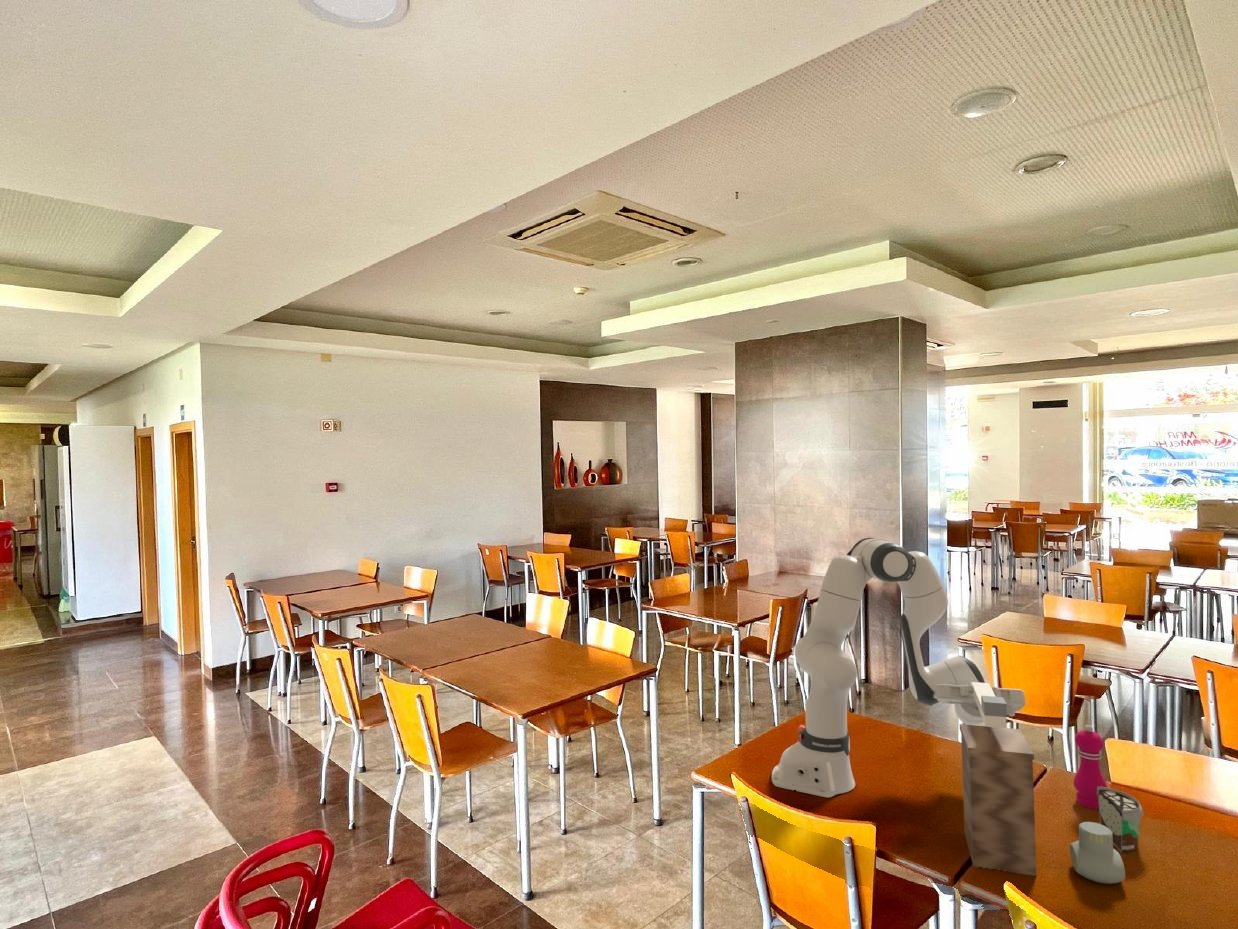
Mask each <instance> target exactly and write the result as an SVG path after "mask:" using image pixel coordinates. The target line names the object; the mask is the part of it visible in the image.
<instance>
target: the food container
mask: <svg viewBox="0 0 1238 929" xmlns="http://www.w3.org/2000/svg"><path fill="white" fill-rule="evenodd" d="M1097 794H1098V800H1099V809H1098V810H1099V811H1098V812H1099V820H1100V821H1099V824H1101V825H1104V826H1106V827H1107V828H1109V829H1110V830H1111V832H1112V835H1113V846H1115V847H1116V848H1117V850H1118V851H1120V853H1122V854H1129V853H1134V852H1136V851H1137V850H1138V848H1139V837H1140V836H1139V832H1140V821H1141V819H1142V818H1143V817H1144V810H1143V807H1142V805H1141V804H1140V802H1139V800H1138V799H1137V798H1135V797H1134V796H1133V795H1131V794H1129V793H1126V792H1124V791H1121V790H1119V789H1114V788H1111V787H1108V788H1106V787H1098V789H1097Z"/></svg>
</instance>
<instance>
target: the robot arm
mask: <svg viewBox="0 0 1238 929" xmlns="http://www.w3.org/2000/svg"><path fill="white" fill-rule="evenodd" d="M871 579H875V580H879V581H882V582H886V583H897V585H898V586H899V589H900V592H901V595H902V598H903V601H904V608H903V613H902V614H901V615H900V616H899V631H900V637H901V642H902V647H903V651H904V657H905V664H906V668H907V675H908V676H907V677H908V685H909V690H910V692H911V694H912V696H913V697H914V698H915V700H916V701H917V702H919V703H921V704H923V705H927V706H934V705H935V704H938V703H940V704H948V705H954V713H955V715H956V717H957V719H958V720H960V721H961V722H962V724H963V723H964V724H965V725H976V726H981V725H982V724H985V723H984V721H983V718H982V716H981V713H980V711H979V709H978V706H977V704H976V701H975V699H974V696H973V686H972V685H971V682H980V683H986V681H985V679H984V676H983V675H982V672H981V671H980V670H979V668H978V666H977V665H976V664H975V663H974V662H973V661H972V660H970V659H968V658H966V657H964V656H962V655H957V656H953V657H950V658H947V659H944V660H942V661H939V662H936V663H933V664H930V665H927V666H925V665H924V660H923V655H922V651H921V646H920V645H921V644H920V641H921V637H922V636H923V635H924V634H925V633H926V631H927V630H928V629H929V628H931V627H932V626H933V625H934V624H936V623H937V622H938V621H939V620H940V619H941V618H942V617H943V616H944V614H945V612H946V611H947V609H948V605H949V600H948V595H947V591H946V588H945V586H944V583H943V581H942V579H941V576H940V575H939V572H938V570H937V569H936V567H935V565H934V563H933V562H932V561H931V559H930V558H929V556H928V555H927V554H926V553H925V552H923V551H917V550H914V551H912V550H911V551H908V550H906V549H905V548H904V547H902V546H901V545H899V544H897V543H894V542H890V541H889V540H886V539H884V538H883V539H882V538H875V537H866V538H862V539H860V540H858V541H857V542H856V543H855V544H854V545H853V546H852V548H851V549H850V550H849V551H848V552H847V554H840V555H837V556H835V557H834V558H832V560H831V562H830V564H829V565H828V567H827V570H826V571H825V575H824V578H823V580H822V584H821V589H820V592H819V596H818V599H817V603H816V607H815V611H814V615H813V617H812V619H811V621H810V624H809V626H808V627H807V629H806V632H805V634H804V635H803V636H802V638H800V639H799V640H798V641H797V643H796V644H795V646H794V657H795V659H796V662H797V663H798V665H799V667H800V668H801V670H803V671H804V672H805V674H807V675H809V679H810V690H809V694H808V697H807V698H806V699H805V703H804V707H805V708H804V709H805V713H804V714H805V725H803V724H800V725H799V726H798V728H797V731H798V741H797V742H796V743H794V744H792V745H791V746H789V747H787V748H786V749H785V750H784V751H783V753H781V758H780V760H779V763H778V764H776V765H775V766H774V767H773V769H772V772H771V782H772V784H773V786H774V787H778V788H782V789H785V790H791V791H794V790H796V792H799V793H805V794H810V795H814V796H818V797H823V798H832V797H834V796H836V795H839V794H845V793H848V792H850V791H852V790H854V789H855V786H856V782H855V779H854V778H855V777H854V775H853V771H852V766H851V761H850V751H851V743H850V742H851V741H850V739H851V738H850V733H849V731H848V718H847V717H848V710H847V709H848V708H847V706H848V699H849V693H850V690H851V688H852V687H853V685H854V684H855V683H856V681H857V678H858V670H857V669H858V668H857V667H856V664H855V663H854V661H853V659H852V658H851V657H850V655H849V654H847V652H846V651H845V650H842V649H841V648H842V645H843V642H844V640H845V639H846V637H847V636H848V634H849V633H850V632H851V631H852V630H854V628H855V626H856V622H857V619H858V617H859V616H858V615H859V611H860V607H861V602H862V600H863V599H862V598H863V596H864V595H863V594H864V589H865V587H866V585H867V584H868V582H869V581H871ZM991 688H992V690H993V692H994V694H995V696H996V697H1003V698H1004V700H1005V702H1006V704H1007V717H1014V716H1015V715H1016V713H1017V712H1019V711H1021V710H1022V709H1023V708H1024V707H1025V706H1026V697H1025V696H1026V695H1025V691H1024V690H1023V689H1018V688H1003V687H997V686H991Z"/></svg>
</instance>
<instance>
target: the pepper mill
mask: <svg viewBox="0 0 1238 929" xmlns="http://www.w3.org/2000/svg"><path fill="white" fill-rule="evenodd" d="M1093 730H1094V728H1093V725H1090V724H1086V725H1085V726H1084V729H1083V730H1080V731H1078V732H1077V733H1075V737H1074V742H1075V744H1076V745H1077V747H1078V748H1077V755H1078V756H1079V757H1080V763H1079V764H1080V765H1079V767H1078V770H1077V771H1076V773H1075V776H1074V778H1073V786H1074V789H1075V790H1076V791H1077V792H1076V794H1075V795H1076V796H1075V797H1076V802H1077V803H1078V804H1079V805H1080V806H1082V805H1083V807H1085V808H1088V809H1091V808H1094V809H1093V810H1099V800H1098V794H1097V789H1098V787H1106V788H1109V787H1108V784H1107V781H1106V779H1105V777H1104V775H1103V773H1102V772H1101V768H1100V761H1101V759H1102V752H1101V751H1102V750H1103V748H1104V744H1105V743H1104V739H1103V738H1102V737H1101V735H1100V734H1099V733H1098V732H1095V731H1093Z"/></svg>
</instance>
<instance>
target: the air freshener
mask: <svg viewBox="0 0 1238 929" xmlns="http://www.w3.org/2000/svg"><path fill="white" fill-rule="evenodd" d="M1069 853H1070V854H1069V855H1070V861H1071V863H1072V866H1073V869H1074V871H1075V872H1076V873H1077V874H1079V875H1081V876H1082V877H1084V879H1085V878H1086V879H1088V880H1089V881H1092V882H1095V883H1098V884H1099V883H1101V884H1104V885H1105V884H1107V885H1108V884H1111V885H1112V884H1117V883H1120V882H1122V881H1125V879H1126V870H1125V865H1124V862H1123V859H1122V856H1121V855H1120V853H1119V852H1118V851H1117V850H1116V849H1115V848H1114V844H1113V835H1112V832H1111V830H1110V829H1109V828H1107V827H1106V826H1104V825H1101V824H1100V823H1097V822H1093V821H1083V822H1081V823H1079V825H1078V840H1075V841H1073V842H1071V843H1070V845H1069Z"/></svg>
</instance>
